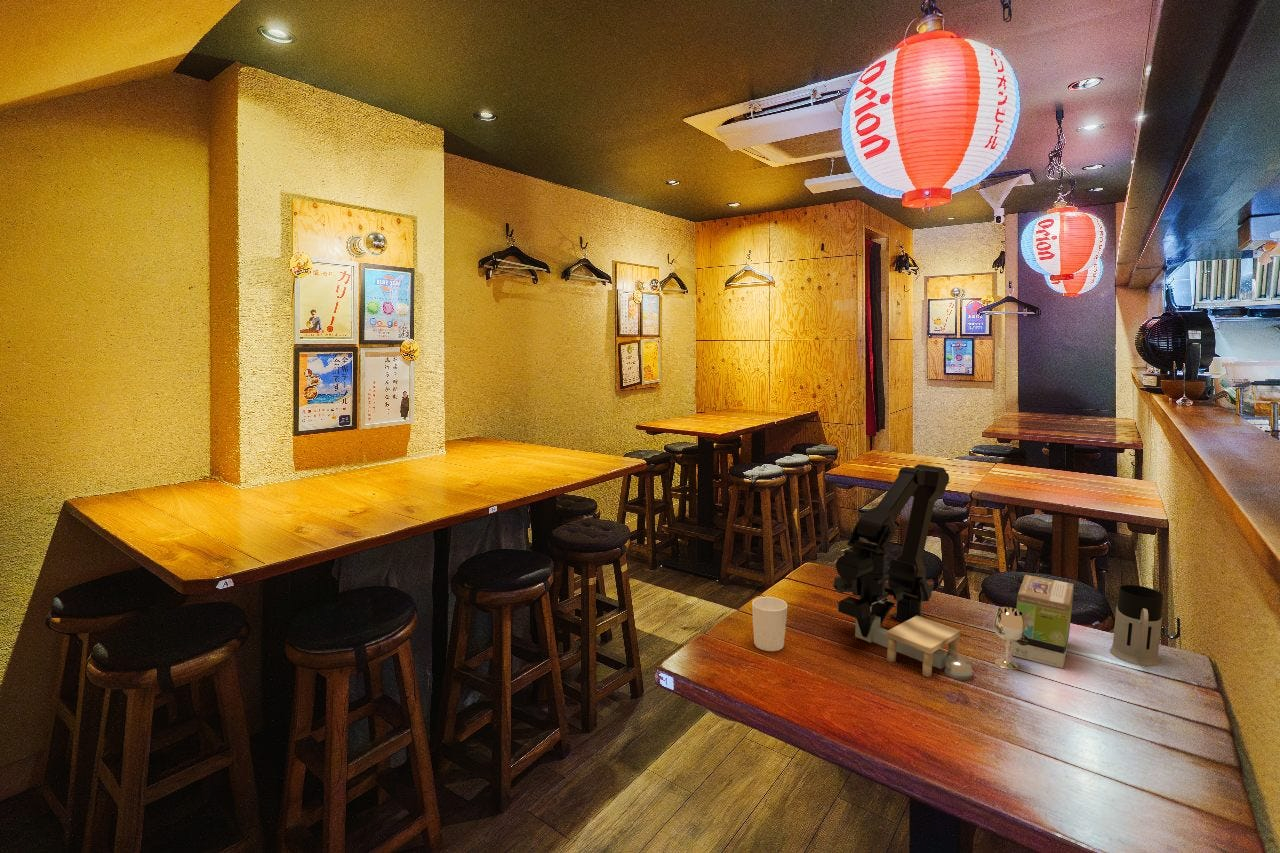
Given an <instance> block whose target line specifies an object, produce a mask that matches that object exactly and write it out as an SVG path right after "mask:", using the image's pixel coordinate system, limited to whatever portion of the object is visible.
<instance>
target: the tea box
mask: <svg viewBox="0 0 1280 853" xmlns="http://www.w3.org/2000/svg"><path fill="white" fill-rule="evenodd" d="M1074 585H1075V584H1074V583H1072V582H1066V581H1061V580H1055V579H1052V578H1050V579H1049V578H1046V577H1042V576H1041V577H1040V576H1035V575H1029V574H1025V575H1024V576H1023V579H1022V583H1021V585H1020V587H1019V589H1018V593H1017V598H1016V599H1017V600H1016V607H1015V609H1017V610H1020V611H1021V612H1022V613H1023V616H1024V622H1025V632H1024V635H1023V637H1022V638H1021V639H1019V640H1017V641H1012V647H1011V648H1012V649H1011V655H1012V656H1014V657H1017V658H1021V659H1023V660H1028V661H1031V662H1036V663H1039V664H1043V665H1045V666H1046V665H1047V666H1051V667H1055V668H1058V669H1063V668H1064V666H1065V663H1066V662H1065V661H1066V656H1067V650H1068V643H1069V636H1070V630H1071V629H1070V628H1071V620H1072V619H1071V618H1072V611H1073V602H1074V601H1073V600H1074V588H1075V586H1074Z"/></svg>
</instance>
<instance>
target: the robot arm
mask: <svg viewBox="0 0 1280 853" xmlns="http://www.w3.org/2000/svg"><path fill="white" fill-rule="evenodd" d="M949 483H950V476H949V473H948V472H947V470H946V469H945V468H944V467H941V466H935V465H928V464H927V465H926V464H920V463H918V464H916V465H915V466H913V467H911V466H910V467H909V466H903V467H901V468H899V471H898V476H896V478H895V480H894V481H893V483H892V484H891V486H890V487H889V489H888V490H887V492H886V493H885V494H884V495H883V497H882V498H881V500H880V501H879V503H878V504H877V505H876V506H874V507H872V508H870V509H868V510H866V511H865V512H864V513H863V514H862V515H861V516H860V517H859V519H858V520H857V521H856V524H855V525H854V527H853V529H852V532H851V535H850V537H849V540H848V542H847V544H846V545H847V546H848V547H851V548H846V549H844V551H843V555H841V556H839V557H838V558H837V560H836V562H835V569H836V572H837V574H838V575H839V576H836V577H835V578H834V579H833V589H834V590H835V591H836V592H838V593H839V594H843V593H852V594H851V595H853V596H851V595H849V596H847V597H845V598H843V599H841V600H839V601H838V602H837V612H838V613H841V614H844V615H846V616H848V617H852V618H854V619H855V620H856V619H857V621H858V625H859V628H860V631H861V634H862V636H863V637H867V636H868V634H869V631H870V629H871V626H872V623H873V621H874V618H875V616H878V617H881V623H880V627H881V626H882V624H883V623H884V621H885V619H886V618H887V616H888V614H889V613H890V612H891V610H892V608H893V607H894V606H895V603H894V602H893V601H890V598H889V596H892V597H893V600H894V601H896V611H895V612H894V613H892V614H890V618H891V619H893V620H896V621H899V622H902V623H903V622H905V621H907V620H909V619H911V618H913V617H915V616H920V617H923V618H926V619H928V617H927V616H926V615H922V608H923V607H922V606H923V602H930V599H931V597H932V593H933V589H932V587H931V586H930V584H929V583H928V581H927V580H926V578H927V569H926V567H925V564H924V561H923V556H924V552H925V547H926V543H927V540H928V539H927V537H928V534H929V529H930V525H931V522H932V515H933V511H934V508H935V503H936V502H937V501H938V500H939V499H940V498H941V497H943V495H944V494H945V491H946V488H947V486H948V485H949ZM912 496H913V500H912V505H911V508H910V513H909V518H908V522H907V527H906V530H905V534H904V540H903V544H902V548H901V553H900V554H899V555H898V556H897V557H896V558H895V559H894V558H893V559H891V560H890V562H889V569H888V572H887V574H886V571H887V570H886V568H887V566H886V565H887V552H888V551H890V550H891V549H892V547H891V545H890V544H889V543H891V541H892V538H894V534H895V532H896V530H897V526H896V520H897V519H898V516H899V515H900V514H901V512H902V510H903V509H904V508H905V506H906V505H907V504H908V502H909V500H910V499H911V497H912ZM861 540H862V541H861ZM868 542H869V543H868ZM854 596H856V597H859V598H856V597H854Z"/></svg>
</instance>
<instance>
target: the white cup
mask: <svg viewBox="0 0 1280 853" xmlns="http://www.w3.org/2000/svg"><path fill="white" fill-rule="evenodd" d="M751 604H752V606H751V607H752V608H751V609H752V625H753V626H752V628H753V629H752V630H753V644H754V645H755V647H756V648H757V649H759V650H762V651H766V652H777V651H781V650H782V649H783V648H784V645H785V635H786V629H787V628H786V627H787V617H788V603H787V602H786V601H785V600H783V599H781V598H777V597H773V596H762V597H760V596H759V597H757V598H755V599H753V600H752V603H751Z"/></svg>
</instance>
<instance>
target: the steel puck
mask: <svg viewBox="0 0 1280 853" xmlns="http://www.w3.org/2000/svg"><path fill="white" fill-rule="evenodd" d="M972 671H973V662H972V660H970V659H969V658H967V657H964V656H962V655H958V654H957V655H949V656H948V655H947V657H946V660H945V667H944V674H946V675H947V676H948V677H950V678H951V679H955V680H957V681H968V680H971V679H972V673H973V672H972Z"/></svg>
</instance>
